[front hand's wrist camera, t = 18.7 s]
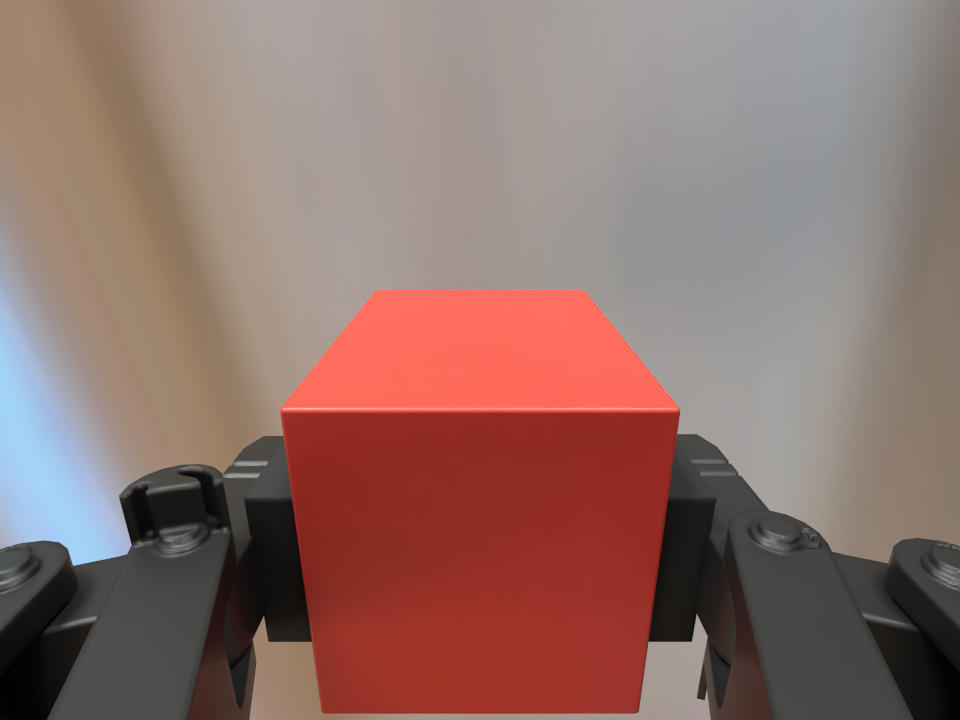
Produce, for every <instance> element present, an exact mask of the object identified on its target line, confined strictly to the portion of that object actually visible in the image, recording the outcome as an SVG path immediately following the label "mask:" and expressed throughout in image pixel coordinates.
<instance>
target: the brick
mask: <svg viewBox="0 0 960 720" xmlns="http://www.w3.org/2000/svg"><path fill="white" fill-rule="evenodd" d="M280 412H281V420H282V427H283V434H284V442H285V449H286V456H287V463H288V471H289V478H290V485H291V492H292V500H293V507H294V514H295V522H296V529H297V536H298V543H299V551H300V558H301V565H302V572H303V580H304V587H305V594H306V601H307V609H308V616H309V623H310V631H311V638H312V645H313V652H314V660H315V667H316V674H317V681H318V689H319V696H320V703H321V710H322V712H323V713H638V712H639V706H640V699H641V691H642V684H643V677H644V670H645V662H646V655H647V648H648V641H649V633H650V626H651V619H652V612H653V604H654V597H655V590H656V583H657V575H658V568H659V561H660V554H661V546H662V539H663V532H664V525H665V517H666V510H667V503H668V496H669V488H670V481H671V474H672V467H673V459H674V452H675V445H676V438H677V430H678V423H679V416H680V409H679V407H678V406H677V405H676V403H675V402H674V401H673V400H672V398H671V397H670V396H669V395H668V393H667V392H666V391H665V390H664V389H663V387H662V386H661V385H660V384H659V382H658V381H657V380H656V379H655V377H654V376H653V375H652V374H651V372H650V371H649V370H648V369H647V367H646V366H645V365H644V364H643V363H642V361H641V360H640V359H639V358H638V356H637V355H636V354H635V353H634V351H633V350H632V349H631V348H630V346H629V345H628V344H627V343H626V341H625V340H624V339H623V338H622V336H621V335H620V334H619V333H618V332H617V330H616V329H615V328H614V327H613V325H612V324H611V323H610V322H609V320H608V319H607V318H606V317H605V315H604V314H603V313H602V312H601V310H600V309H599V308H598V307H597V306H596V304H595V303H594V302H593V301H592V299H591V298H590V297H589V296H588V294H587V293H586V292H585V291H584V290H376V291H375V292H374V293H373V295H372V296H371V297H370V298H369V300H368V301H367V302H366V303H365V305H364V306H363V307H362V308H361V310H360V311H359V312H358V313H357V315H356V316H355V317H354V318H353V320H352V321H351V322H350V323H349V324H348V326H347V327H346V328H345V329H344V331H343V332H342V333H341V334H340V336H339V337H338V338H337V339H336V341H335V342H334V343H333V344H332V346H331V347H330V348H329V349H328V351H327V352H326V353H325V354H324V356H323V357H322V358H321V359H320V361H319V362H318V363H317V364H316V365H315V367H314V368H313V369H312V370H311V372H310V373H309V374H308V375H307V377H306V378H305V379H304V380H303V382H302V383H301V384H300V385H299V387H298V388H297V389H296V390H295V392H294V393H293V394H292V395H291V397H290V398H289V399H288V400H287V401H286V403H285V404H284V405H283V406H282V408H281V411H280Z"/></svg>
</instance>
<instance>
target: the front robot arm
mask: <svg viewBox="0 0 960 720" xmlns="http://www.w3.org/2000/svg"><path fill="white" fill-rule="evenodd" d="M119 498H120V502H121V506H122V510H123V513H124V517H125V521H126V525H127V528H128V532H129V536H130V540H131V544H132V546H131V548H130V550H129V552H128V554H127V555H123V556H119V557H115V558H110V559H105V560H100V561H95V562H90V563H85V564H81V565H76V566H73V565H72V561H71V558H70V555H69V552H68V549H67V548H66V547H64V546H63V545H62V544H60V543H59V542H51V541H37V542H29V543H21V544H17V545H13V546H12V547H10V546H9V547H6V548H3V549H0V720H249V717H250V709H251V701H252V693H253V685H254V677H255V669H256V657H255V650H254V644H253V637H254V635H255V633H256V631H257V629H258V627H259V625H260V622H261V620H262V618H263V616H264V618H265V624H266V630H267V635H268V641H269V642H312V638H311V631H310V623H309V616H308V609H307V601H306V594H305V587H304V580H303V572H302V565H301V558H300V551H299V543H298V536H297V529H296V522H295V514H294V507H293V500H292V492H291V485H290V478H289V471H288V463H287V456H286V449H285V442H284V436H264V437H262V438H260V439H259V440H257V441H255V442H254V443H252V444H251V445H249V446H247V447H246V448H244V449H243V450H242V452H241V453H240V454H239V455H238V457H237V458H236V459H235V460H234V461H233V463H232V466H229V467H228V469H227V470H226V471H225V472H224V474H223V477H222V473H221V472H220V471H218V470H217V469H216V468H214V467H211V466H206V465H201V464H193V465H179V466H175V467H170V468H165V469H162V470H159V471H156V472H154V473H151V474H148V475H146V476H143V477H142V478H140V479H138V480H137V481H135V482H133V483H132V484H130V485H129V486H128V487H127V488H126V489H125V490H124V491H123V492H122V493H121V494H120V495H119ZM696 614H697V615H698V617H699V619H700V621H701V623H702V625H703V627H704V629H705V631H706V633H707V636H708V639H707V644H706V650H705V655H704V661H703V666H702V671H701V677H700V682H699V688H698V695H697V698H698V699H702V700H705V695H706V690H707V692H708V700H709V708H710V716H711V720H960V546H957V545H954V544H949V543H947V542H943V541H937V540H928V539H920V538H915V539H907V540H902V541H900V542H899V543H898V544H896V545H895V546H894V547H893V550H892V553H891V557H890V560H889V563H888V564H887V563H882V562H877V561H872V560H867V559H862V558H857V557H852V556H847V555H843V554H839V553H835V552H832V551H831V549H830V547H829V545H828V543H827V542H826V541H825V540H824V538H823V537H822V536H821V535H820V533H818V532H817V531H816V530H814V529H813V528H811V527H810V526H808V525H807V524H806V523H804V522H802V521H800V520H797V519H795V518H793V517H790V516H788V515H785V514H781V513H777V512H773V511H769V509H768V508H767V507H766V506H765V505H764V503H763V502H762V501H761V500H760V499H759V497H758V496H757V495H756V494H755V492H754V491H753V490H752V489H751V488H750V486H749V485H748V484H747V483H746V482H745V480H744V479H743V478H742V477H741V476H738V472H737V471H736V470H735V468H734V467H733V466H732V465H731V464H729V463H728V460H727V459H726V457H725V456H724V455H723V454H722V453H721V451H720V450H719V449H718V448H717V447H716V446H715V445H713V444H711V443H710V442H708V441H706V440H705V439H703V438H702V437H700V436H698V435H697V434H677V438H676V445H675V452H674V459H673V467H672V474H671V481H670V488H669V496H668V503H667V510H666V517H665V525H664V532H663V539H662V546H661V554H660V561H659V568H658V575H657V583H656V590H655V597H654V604H653V612H652V619H651V626H650V633H649V641H648V642H692V637H693V632H694V626H695V620H696Z"/></svg>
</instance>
